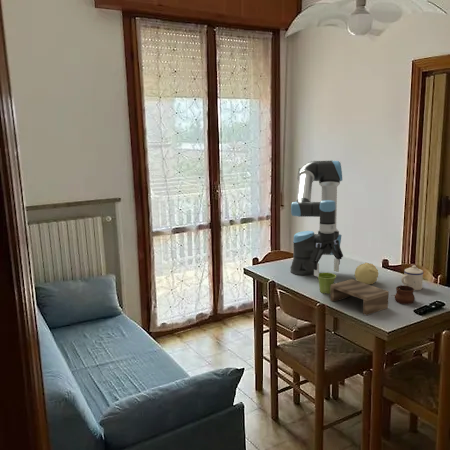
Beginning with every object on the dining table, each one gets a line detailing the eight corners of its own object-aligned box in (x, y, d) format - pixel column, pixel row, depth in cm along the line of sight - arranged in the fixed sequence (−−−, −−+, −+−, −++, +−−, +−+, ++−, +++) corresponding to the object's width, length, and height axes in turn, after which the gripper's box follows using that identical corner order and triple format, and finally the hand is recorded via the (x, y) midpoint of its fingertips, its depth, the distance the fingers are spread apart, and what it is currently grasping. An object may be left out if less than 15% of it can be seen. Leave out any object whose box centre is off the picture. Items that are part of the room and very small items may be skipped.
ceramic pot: (380, 294, 222) (381, 281, 221) (417, 295, 221) (418, 281, 219) (390, 309, 205) (391, 294, 203) (430, 310, 203) (432, 295, 202)
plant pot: (339, 292, 227) (340, 275, 225) (326, 296, 222) (326, 279, 220) (325, 287, 235) (326, 271, 233) (312, 291, 230) (312, 275, 228)
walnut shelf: (330, 300, 216) (330, 284, 215) (351, 294, 224) (351, 279, 222) (366, 315, 198) (367, 297, 196) (387, 308, 205) (388, 291, 204)
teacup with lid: (412, 283, 237) (413, 262, 234) (426, 289, 228) (427, 266, 226) (394, 287, 232) (395, 265, 230) (408, 292, 224) (409, 270, 222)
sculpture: (379, 286, 234) (380, 266, 232) (355, 285, 236) (356, 265, 234) (376, 279, 245) (377, 260, 243) (353, 279, 247) (354, 259, 245)
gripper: (313, 236, 213) (312, 279, 216) (351, 230, 226) (349, 271, 229) (302, 233, 219) (302, 276, 223) (339, 227, 232) (339, 268, 236)
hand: (326, 273), depth 226 cm, fingers open, 13 cm apart
